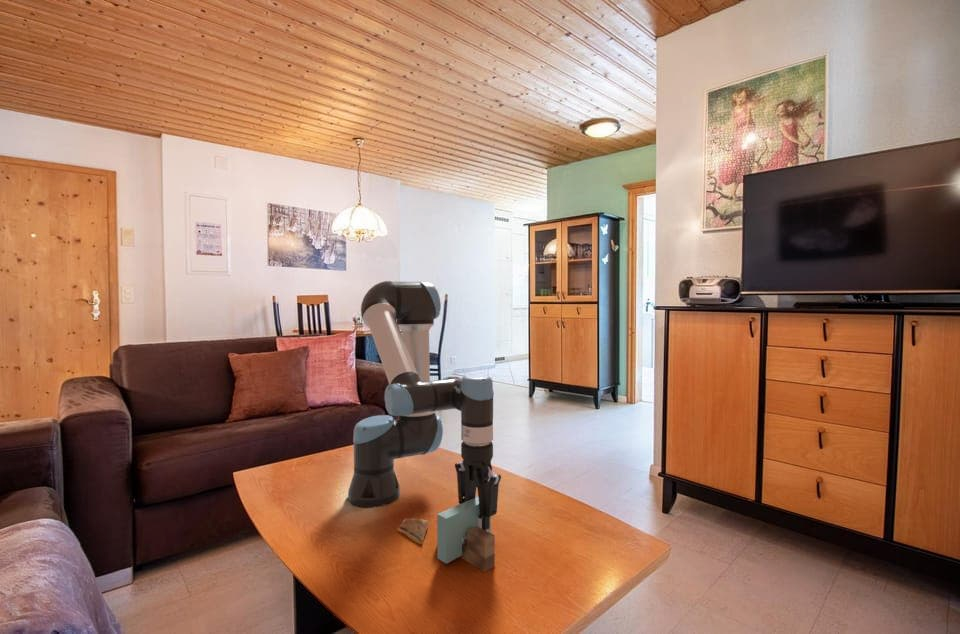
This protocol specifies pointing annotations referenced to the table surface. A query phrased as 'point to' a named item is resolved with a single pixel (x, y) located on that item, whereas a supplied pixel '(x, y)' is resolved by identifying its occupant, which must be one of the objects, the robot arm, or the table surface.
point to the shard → (414, 529)
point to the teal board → (456, 528)
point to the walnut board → (479, 548)
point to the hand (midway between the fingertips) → (477, 539)
